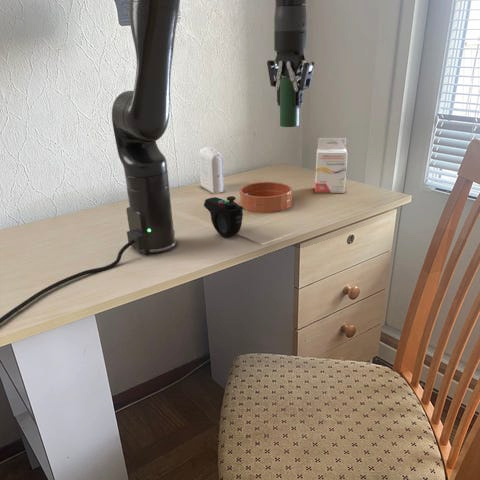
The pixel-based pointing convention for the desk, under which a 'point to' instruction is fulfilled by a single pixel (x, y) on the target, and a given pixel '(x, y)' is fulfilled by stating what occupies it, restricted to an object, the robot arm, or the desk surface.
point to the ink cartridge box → (331, 165)
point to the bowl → (266, 197)
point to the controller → (225, 215)
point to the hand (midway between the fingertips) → (289, 106)
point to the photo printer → (211, 170)
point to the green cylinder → (288, 104)
